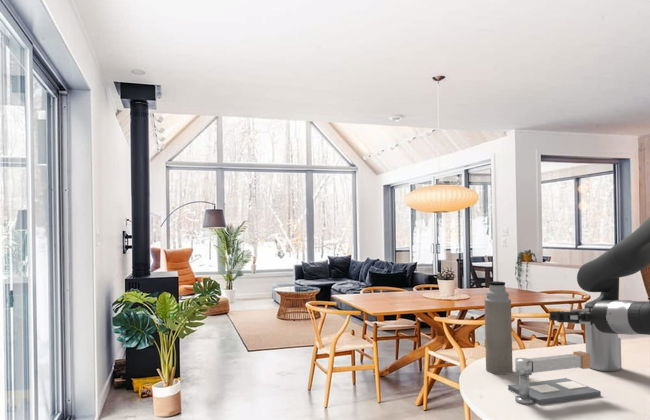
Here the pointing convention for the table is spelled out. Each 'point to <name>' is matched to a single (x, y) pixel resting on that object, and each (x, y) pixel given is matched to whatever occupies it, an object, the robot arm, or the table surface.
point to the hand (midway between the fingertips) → (563, 315)
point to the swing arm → (552, 363)
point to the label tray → (557, 390)
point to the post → (524, 391)
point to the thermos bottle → (498, 329)
